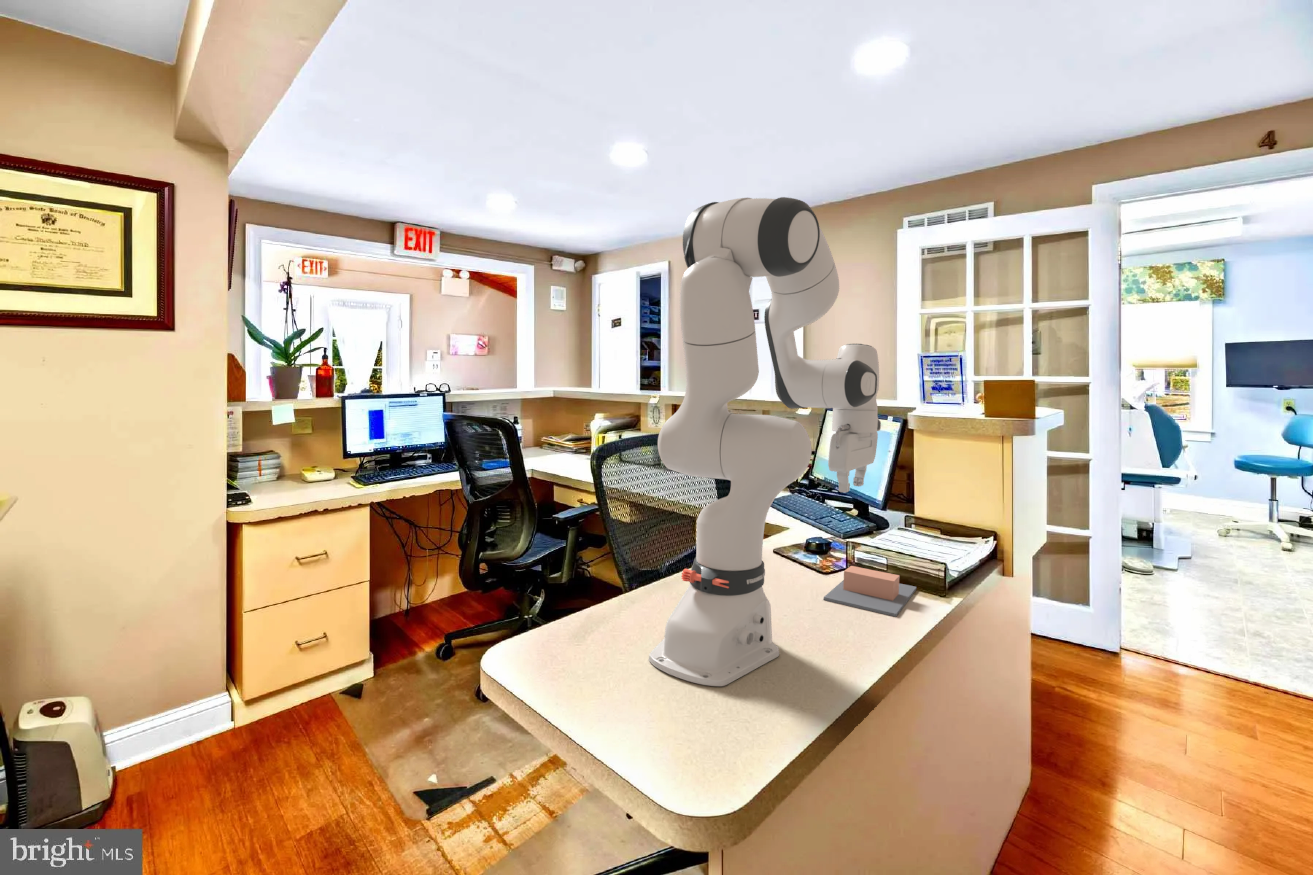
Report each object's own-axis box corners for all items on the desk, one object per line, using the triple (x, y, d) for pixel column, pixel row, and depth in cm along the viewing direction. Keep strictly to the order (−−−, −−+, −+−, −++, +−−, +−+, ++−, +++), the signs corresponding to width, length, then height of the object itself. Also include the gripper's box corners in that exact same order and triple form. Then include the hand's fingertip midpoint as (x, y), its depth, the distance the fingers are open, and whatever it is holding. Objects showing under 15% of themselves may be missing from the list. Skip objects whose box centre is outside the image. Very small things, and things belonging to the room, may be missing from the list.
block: (843, 589, 120) (892, 600, 114) (844, 571, 120) (893, 581, 114) (850, 583, 124) (898, 594, 118) (851, 565, 124) (899, 575, 118)
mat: (896, 616, 108) (896, 613, 108) (823, 599, 116) (823, 596, 116) (916, 589, 122) (916, 586, 122) (850, 576, 130) (850, 573, 130)
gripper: (854, 426, 108) (850, 497, 110) (883, 422, 125) (880, 484, 126) (821, 424, 112) (818, 493, 113) (854, 420, 129) (851, 481, 130)
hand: (851, 488), depth 120 cm, fingers open, 8 cm apart
